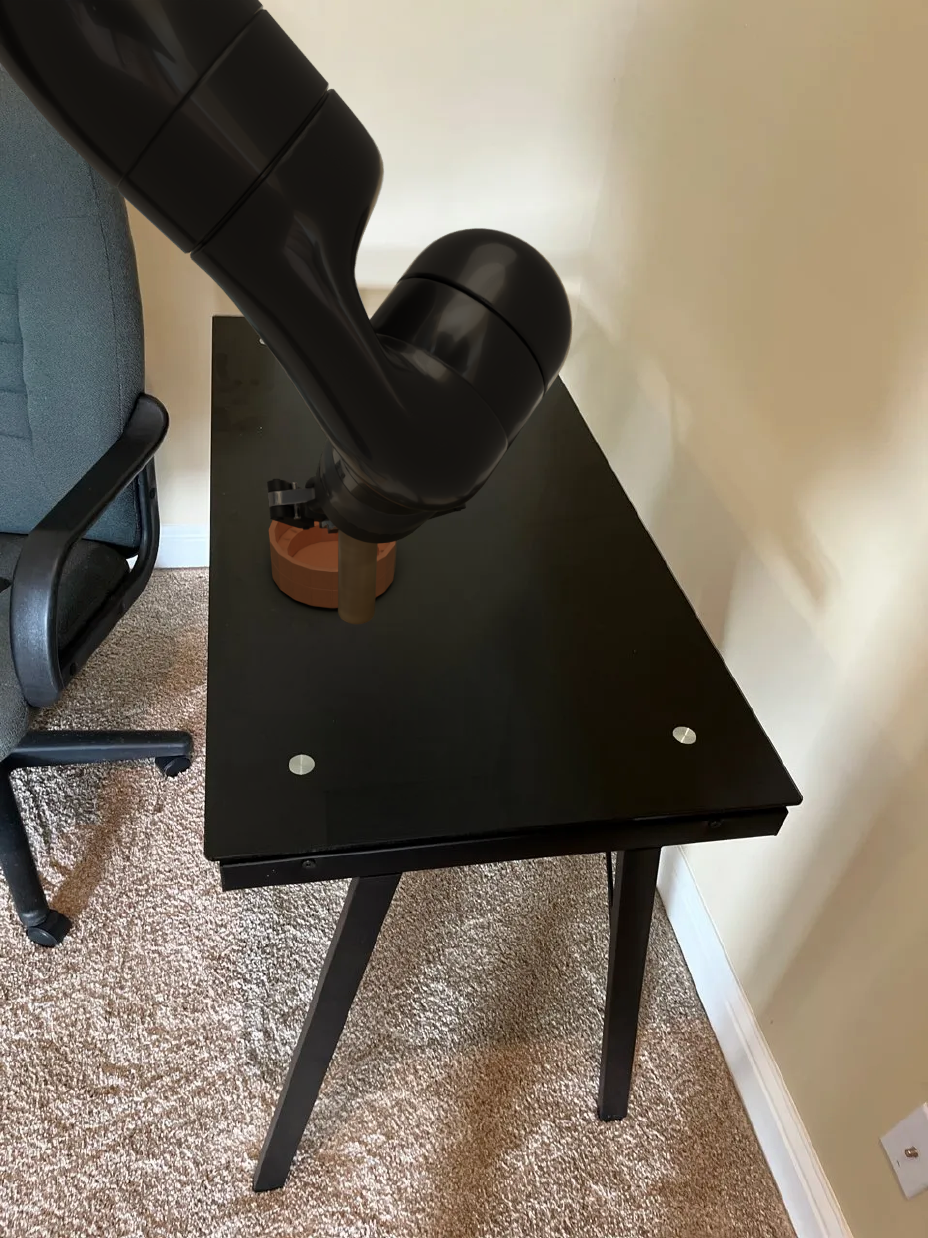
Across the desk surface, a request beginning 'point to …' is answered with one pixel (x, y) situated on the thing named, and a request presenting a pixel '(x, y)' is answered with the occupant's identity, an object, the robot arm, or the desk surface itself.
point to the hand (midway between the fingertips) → (353, 518)
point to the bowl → (317, 564)
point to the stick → (356, 579)
